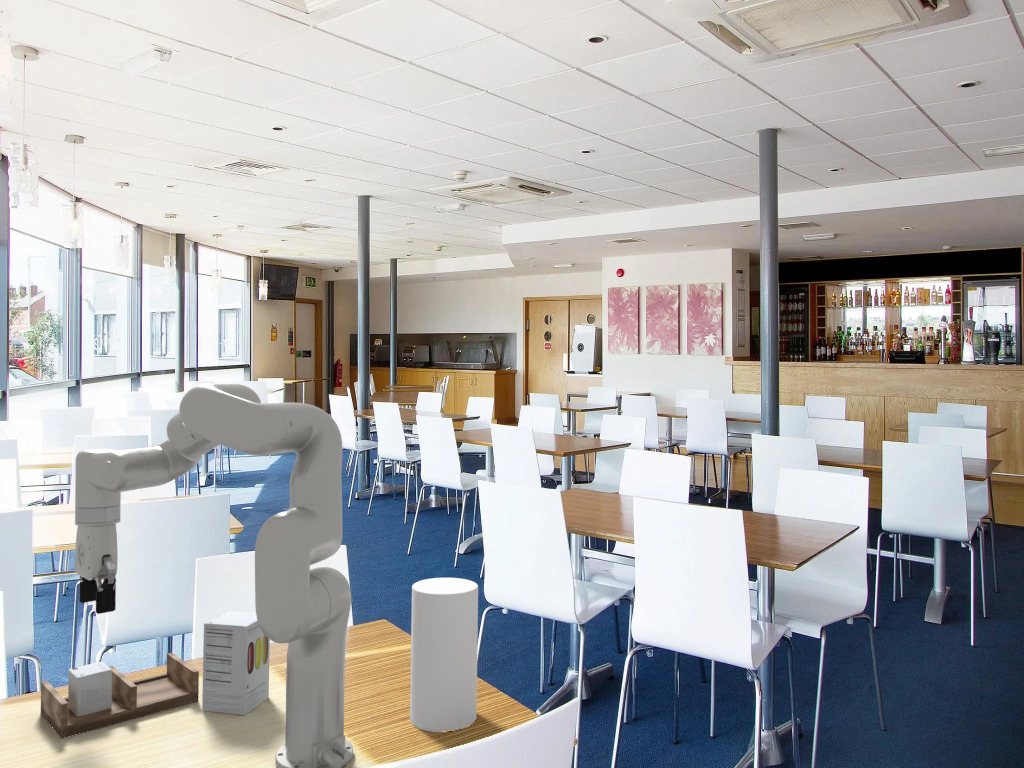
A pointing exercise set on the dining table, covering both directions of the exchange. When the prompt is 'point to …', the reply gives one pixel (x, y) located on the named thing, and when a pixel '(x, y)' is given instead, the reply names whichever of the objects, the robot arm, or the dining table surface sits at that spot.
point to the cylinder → (444, 654)
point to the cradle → (125, 699)
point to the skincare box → (89, 689)
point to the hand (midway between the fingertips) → (97, 606)
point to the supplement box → (235, 664)
